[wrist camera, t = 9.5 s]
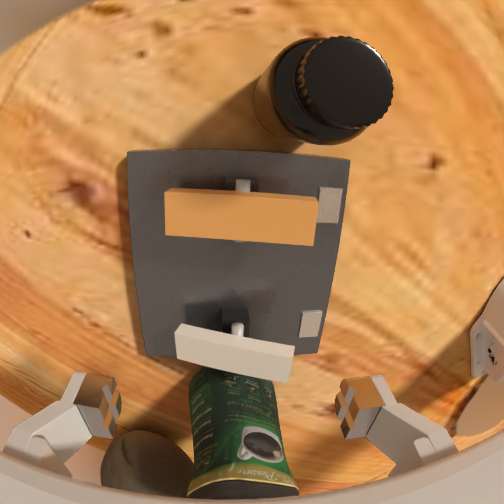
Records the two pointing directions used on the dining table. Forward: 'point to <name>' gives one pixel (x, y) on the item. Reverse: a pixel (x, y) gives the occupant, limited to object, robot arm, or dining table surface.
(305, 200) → the paddle
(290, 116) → the supplement bottle
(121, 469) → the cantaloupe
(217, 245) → the panel
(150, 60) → the dining table surface
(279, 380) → the paddle
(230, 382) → the coffee jar
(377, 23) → the dining table surface
